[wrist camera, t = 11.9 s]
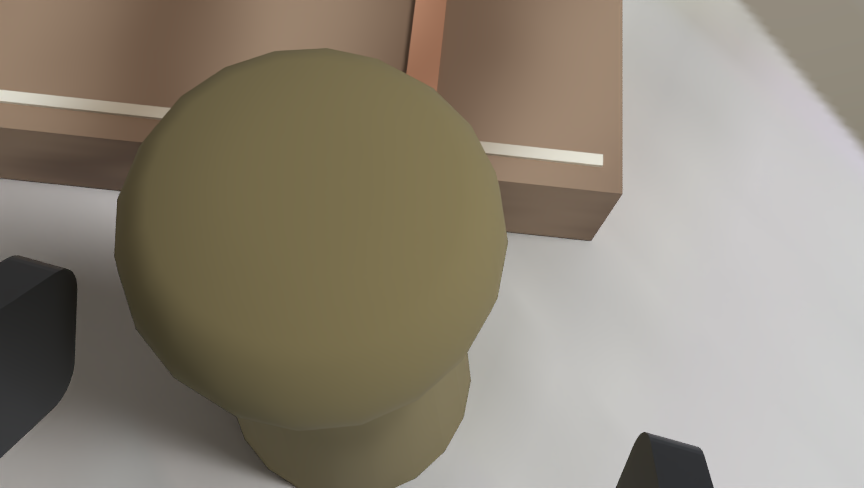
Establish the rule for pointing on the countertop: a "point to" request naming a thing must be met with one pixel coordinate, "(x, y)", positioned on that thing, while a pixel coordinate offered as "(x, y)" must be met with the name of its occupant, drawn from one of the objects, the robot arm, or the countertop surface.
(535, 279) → the countertop surface
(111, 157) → the walnut plank
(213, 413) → the countertop surface
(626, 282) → the countertop surface
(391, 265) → the cork
